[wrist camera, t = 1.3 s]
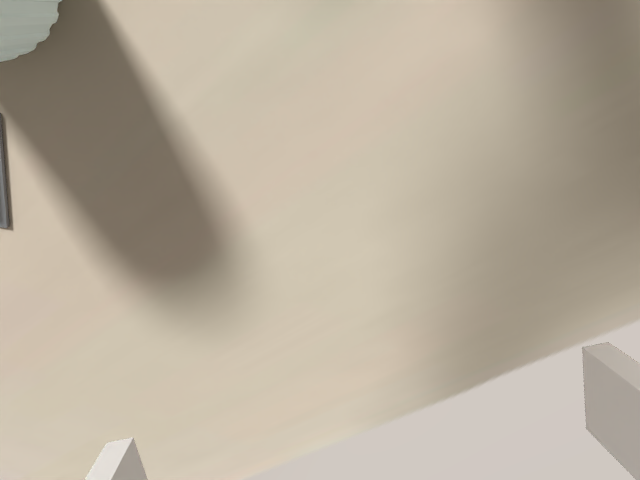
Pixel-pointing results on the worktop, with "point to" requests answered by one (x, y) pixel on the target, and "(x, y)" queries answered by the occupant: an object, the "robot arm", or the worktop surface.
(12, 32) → the vase
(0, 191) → the mat with cloth
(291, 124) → the worktop surface
